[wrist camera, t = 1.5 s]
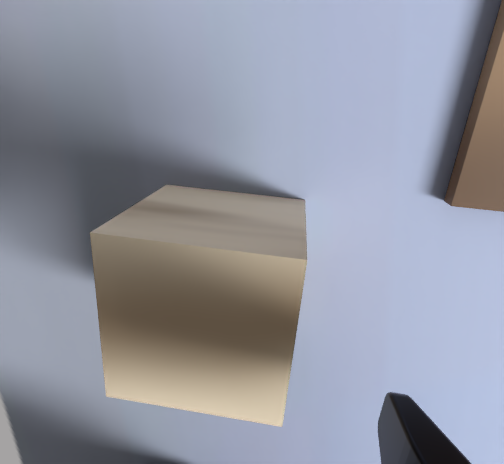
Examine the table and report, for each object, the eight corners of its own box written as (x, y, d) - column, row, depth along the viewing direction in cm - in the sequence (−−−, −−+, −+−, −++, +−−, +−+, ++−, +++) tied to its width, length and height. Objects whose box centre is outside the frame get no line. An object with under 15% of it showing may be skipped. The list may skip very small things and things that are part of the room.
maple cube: (288, 318, 14) (282, 426, 9) (168, 301, 14) (106, 396, 10) (305, 199, 12) (307, 260, 8) (167, 184, 13) (89, 232, 8)
